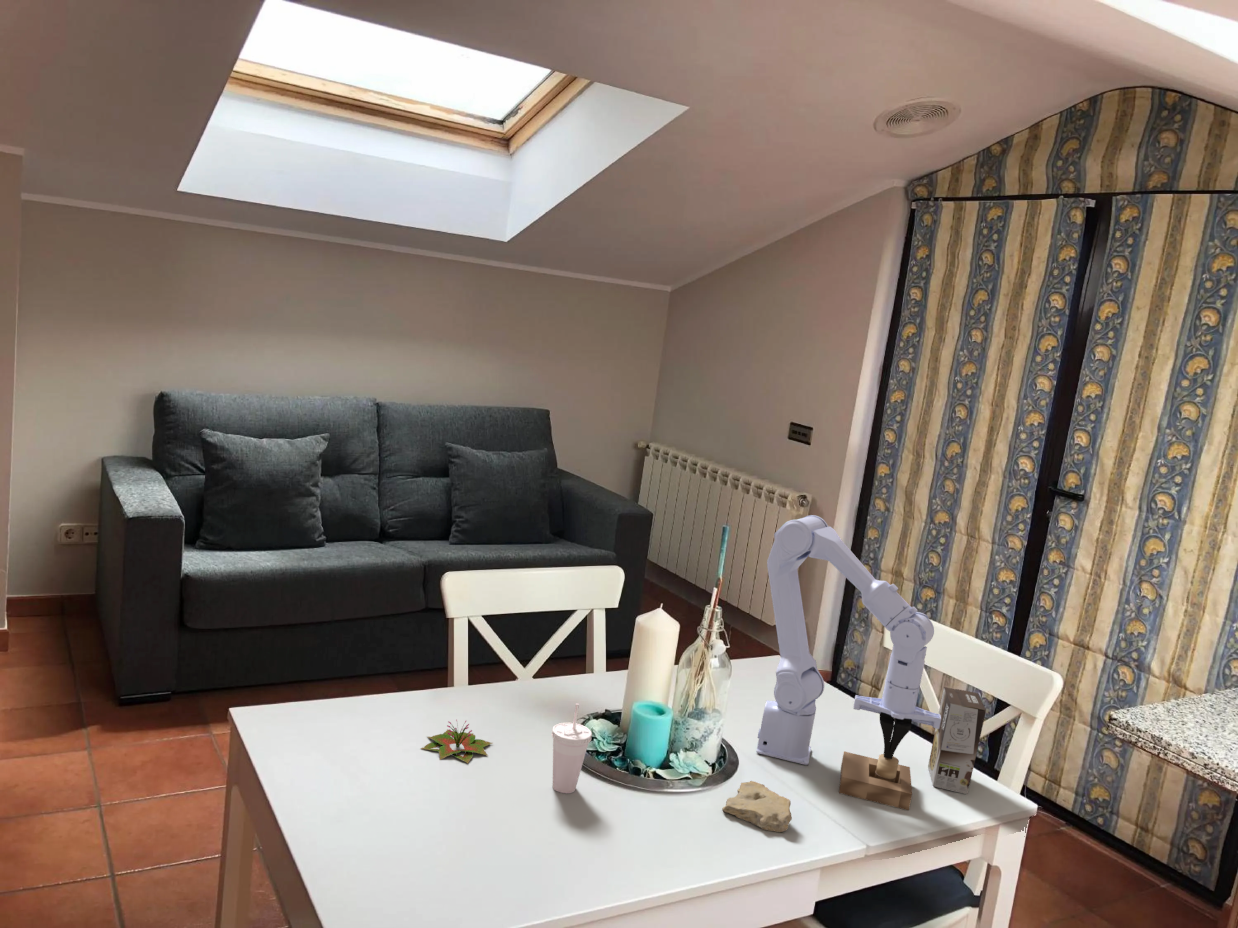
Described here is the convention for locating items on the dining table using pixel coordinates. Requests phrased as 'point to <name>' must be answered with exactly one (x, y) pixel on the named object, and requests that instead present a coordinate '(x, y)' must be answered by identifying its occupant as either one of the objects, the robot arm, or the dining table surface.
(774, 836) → the dining table surface
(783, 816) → the stone
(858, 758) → the board
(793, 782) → the dining table surface
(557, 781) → the smoothie
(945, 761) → the coffee box
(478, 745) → the lily flower
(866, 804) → the dining table surface
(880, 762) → the peg
